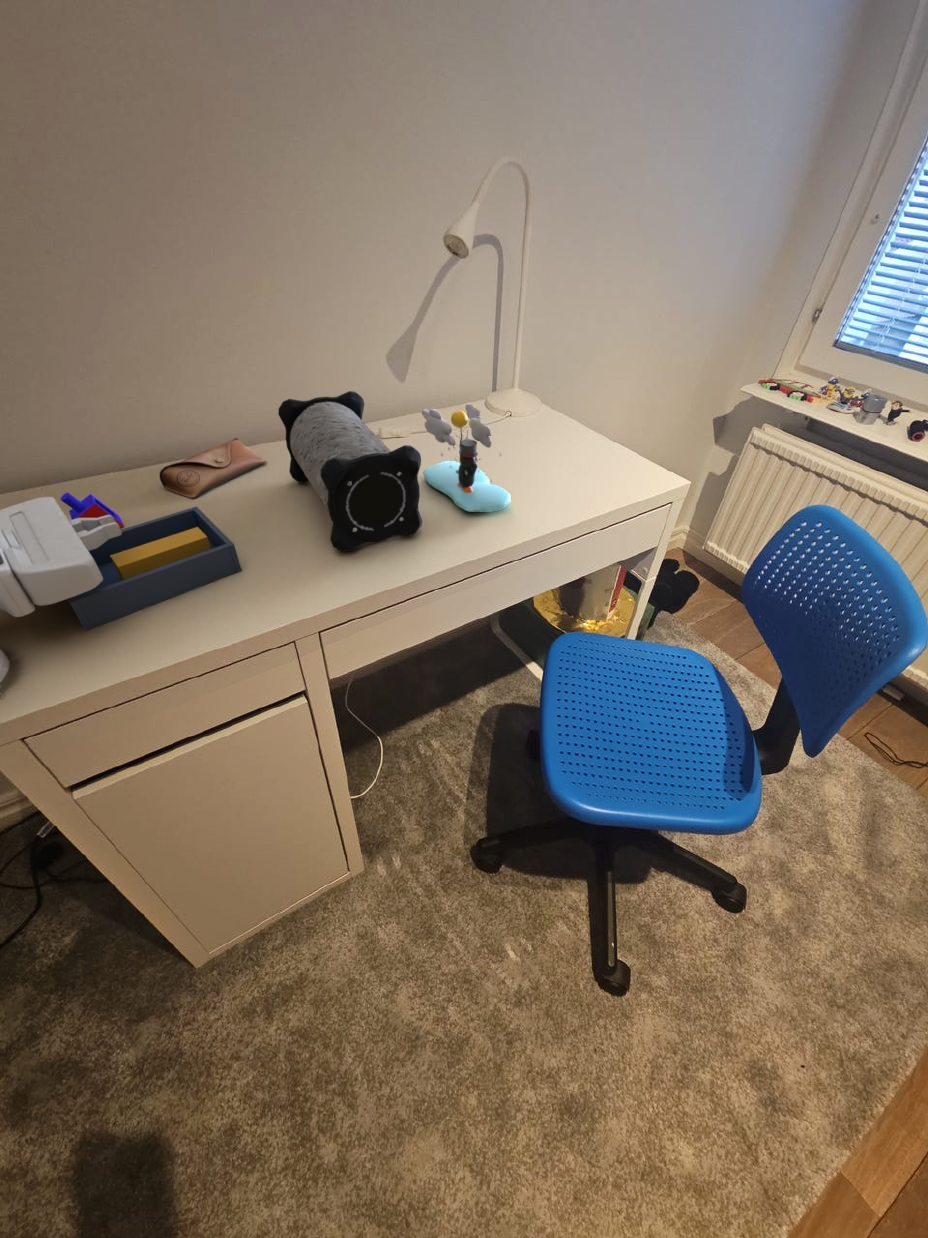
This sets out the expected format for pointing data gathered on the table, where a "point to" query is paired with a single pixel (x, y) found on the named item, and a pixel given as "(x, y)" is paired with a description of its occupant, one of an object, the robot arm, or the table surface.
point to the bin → (159, 583)
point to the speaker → (352, 470)
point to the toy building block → (88, 508)
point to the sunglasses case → (209, 469)
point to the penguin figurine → (464, 463)
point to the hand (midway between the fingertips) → (117, 524)
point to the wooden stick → (160, 553)
